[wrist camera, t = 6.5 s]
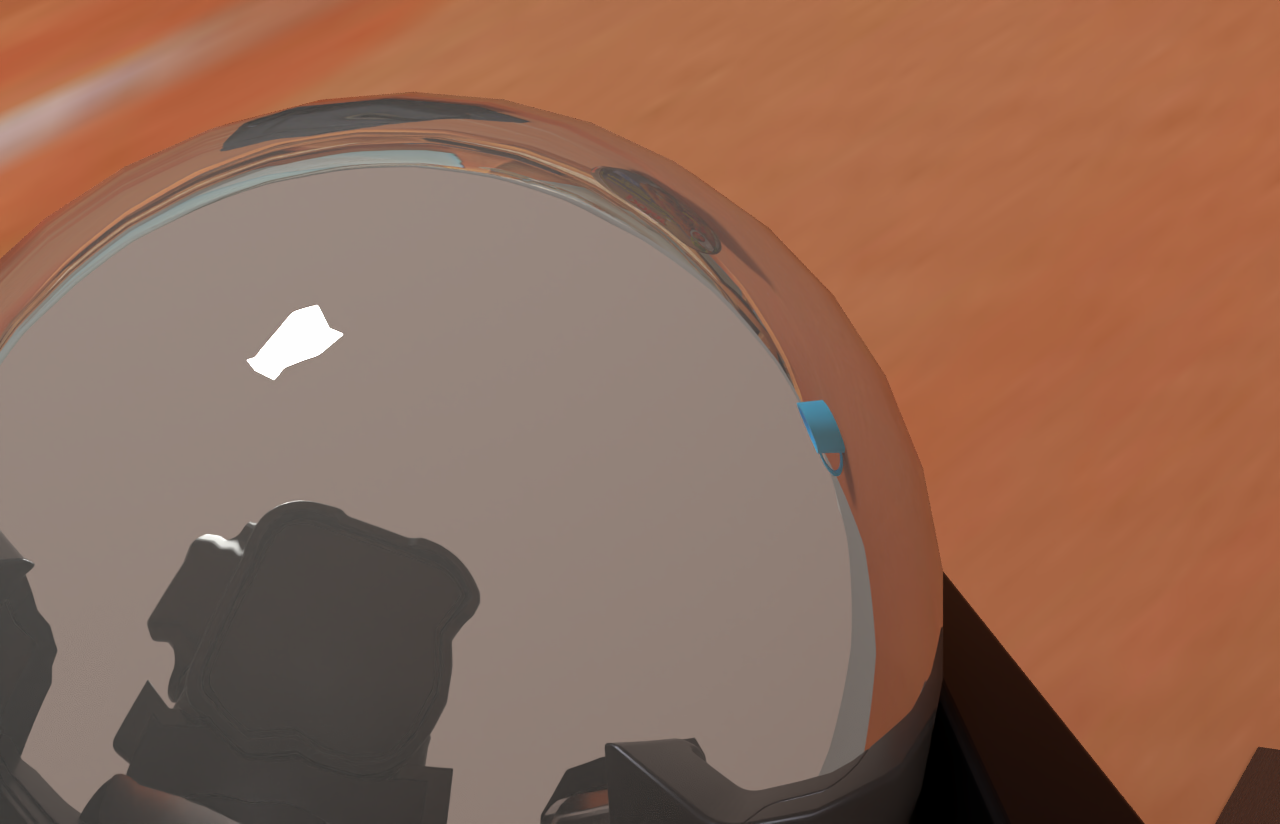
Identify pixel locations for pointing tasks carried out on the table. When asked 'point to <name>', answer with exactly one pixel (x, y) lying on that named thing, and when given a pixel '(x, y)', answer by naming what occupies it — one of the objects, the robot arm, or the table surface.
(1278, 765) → the collar
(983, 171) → the table surface
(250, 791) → the light bulb
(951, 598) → the robot arm
